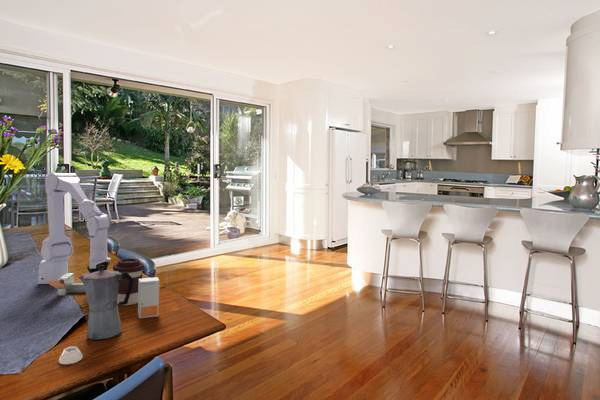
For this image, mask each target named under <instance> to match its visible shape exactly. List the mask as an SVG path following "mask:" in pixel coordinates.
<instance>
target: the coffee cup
mask: <svg viewBox="0 0 600 400" xmlns="http://www.w3.org/2000/svg"><path fill="white" fill-rule="evenodd" d="M144 269H145V263H143V262H141V261H140V259H138V258H130V257H129V258H123V259H119V260H118V261H117V263H114V264H113V265H112V271H117V272H119V273H124V272H128V274H129V275H130V276H131V277H132V278H133V280H134V284H133V287H132V290H131V293H130V296H129V299H128V303H127V304H125V305H124V306H133V305H136V304H138V284H139V280H138V279H142V278H143V271H144ZM128 284H129V280H128V279H123V280H119V284H118V297H117V305H119V302H123V301H124V299H125V297H126V291H127V288H128Z"/></svg>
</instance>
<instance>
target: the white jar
mask: <svg viewBox="0 0 600 400" xmlns="http://www.w3.org/2000/svg"><path fill="white" fill-rule="evenodd" d="M82 359H83V353H82V351H80V349H79V347H77V346H73V345H72V346H68V347H66V348H64V349H63V352H62V353H61V355H60V356H59V359H58V363H59V364H60V365H72V364H76V363H78V362H79V361H81V360H82Z"/></svg>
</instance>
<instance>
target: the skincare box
mask: <svg viewBox="0 0 600 400" xmlns="http://www.w3.org/2000/svg"><path fill="white" fill-rule="evenodd" d="M138 280H139V284H138V303H137V316H138V319H146V318H154V317H156V318H157V317H159V309H160V305H159V304H160V278H159V277H158V276H155V277H144V278H143V277H142V279H138Z"/></svg>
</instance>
